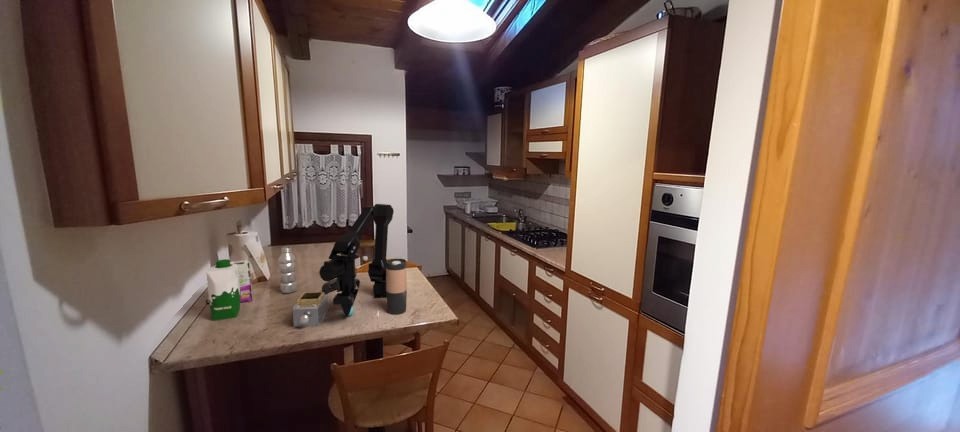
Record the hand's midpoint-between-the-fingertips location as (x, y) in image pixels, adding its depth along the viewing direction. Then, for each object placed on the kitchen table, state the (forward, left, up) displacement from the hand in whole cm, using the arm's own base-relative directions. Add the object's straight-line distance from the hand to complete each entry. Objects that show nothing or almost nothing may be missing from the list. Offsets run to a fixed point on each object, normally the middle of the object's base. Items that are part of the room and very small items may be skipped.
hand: (348, 313), depth 125 cm
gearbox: (+13, +1, -1) cm, 13 cm away
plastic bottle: (+30, -27, -1) cm, 40 cm away
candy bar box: (+47, -19, -1) cm, 50 cm away
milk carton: (+44, -6, -1) cm, 44 cm away
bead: (0, 0, +1) cm, 1 cm away
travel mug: (-17, -2, -1) cm, 18 cm away
